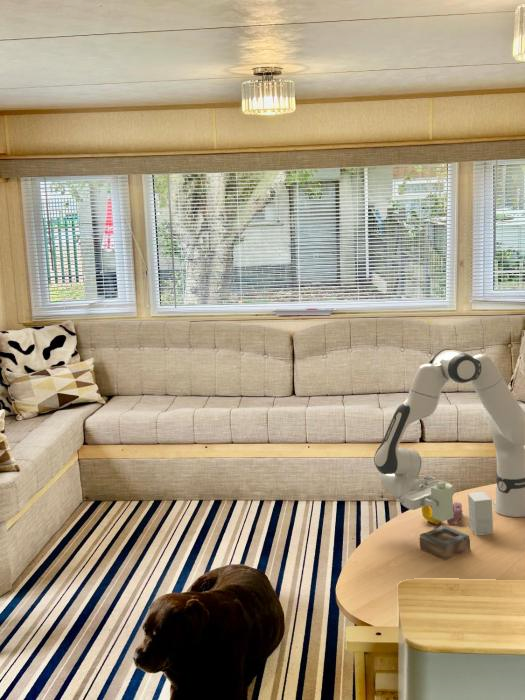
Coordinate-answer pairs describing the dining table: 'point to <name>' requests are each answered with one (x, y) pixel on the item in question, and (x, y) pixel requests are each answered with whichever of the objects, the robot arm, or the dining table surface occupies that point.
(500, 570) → the dining table surface
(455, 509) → the video game controller
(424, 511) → the duckling
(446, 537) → the gray square frame
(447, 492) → the tower brick
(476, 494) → the small box
